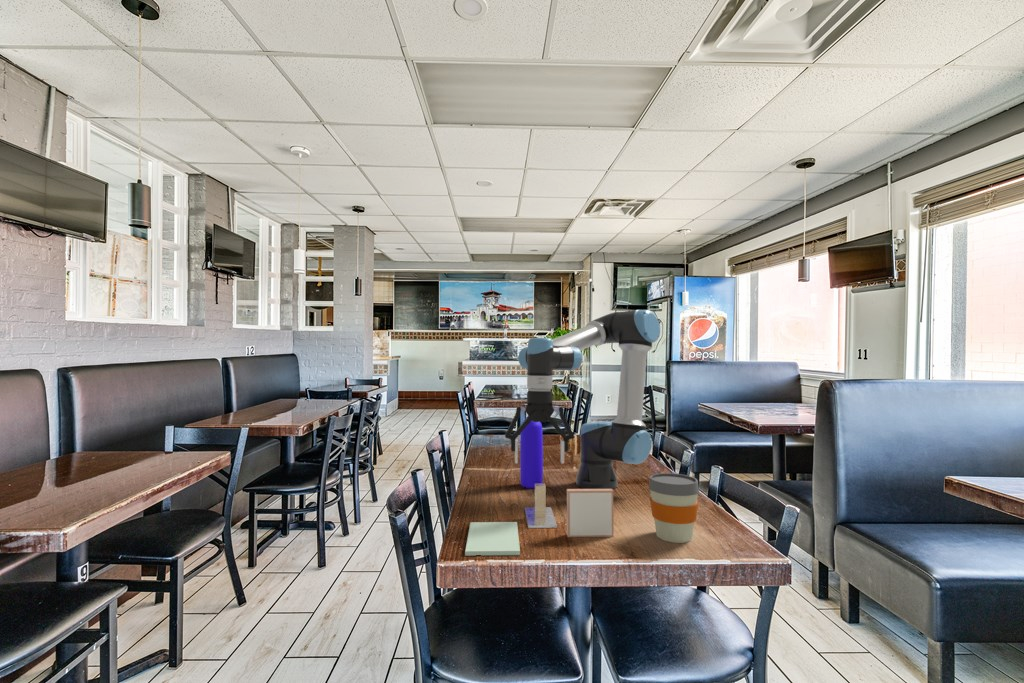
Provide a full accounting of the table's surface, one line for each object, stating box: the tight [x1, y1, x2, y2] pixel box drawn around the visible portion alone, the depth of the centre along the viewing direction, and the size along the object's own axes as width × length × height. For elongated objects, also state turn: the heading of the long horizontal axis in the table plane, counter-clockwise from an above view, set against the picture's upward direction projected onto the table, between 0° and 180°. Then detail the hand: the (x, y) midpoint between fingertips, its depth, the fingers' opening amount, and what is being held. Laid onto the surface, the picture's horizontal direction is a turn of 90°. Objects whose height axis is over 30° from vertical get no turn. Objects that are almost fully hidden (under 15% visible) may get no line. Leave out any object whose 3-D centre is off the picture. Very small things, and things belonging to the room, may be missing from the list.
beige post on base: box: [524, 482, 558, 529], centre depth 138 cm, size 16×8×10 cm, turn 1°
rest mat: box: [464, 521, 521, 557], centre depth 122 cm, size 20×13×1 cm, turn 1°
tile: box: [566, 488, 615, 538], centre depth 124 cm, size 2×12×12 cm, turn 91°
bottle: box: [519, 415, 544, 489], centre depth 174 cm, size 8×8×30 cm
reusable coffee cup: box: [648, 472, 700, 544], centre depth 124 cm, size 13×13×15 cm
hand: (539, 462), depth 138 cm, fingers open, 13 cm apart
